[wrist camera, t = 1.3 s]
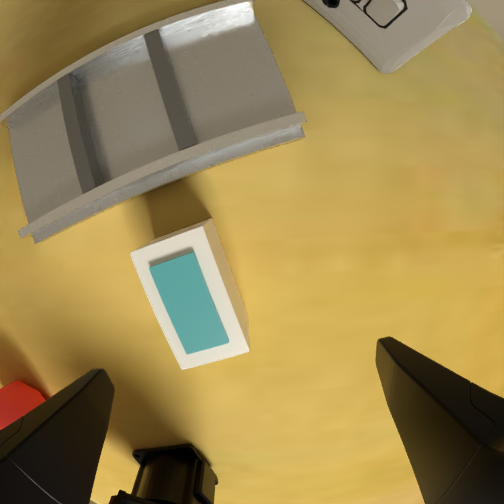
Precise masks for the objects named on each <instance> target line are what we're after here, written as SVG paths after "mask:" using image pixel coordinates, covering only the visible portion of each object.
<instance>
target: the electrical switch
mask: <svg viewBox="0 0 504 504" xmlns="http://www.w3.org/2000/svg"><path fill="white" fill-rule="evenodd" d="M303 1H305V2H306V3H307V4H308V5H310V6H311V7H312V8H313V9H315V10H316V11H317V12H318V13H319V14H321V15H322V16H323V17H324V18H325V19H326V20H328V21H329V22H330V23H331V24H332V25H333V26H334V27H336V28H337V29H338V30H339V31H340V32H341V33H342V34H343V35H344V36H345V37H346V38H347V39H349V40H350V41H351V42H352V43H353V44H354V45H355V46H356V47H357V48H358V49H359V50H360V51H361V52H362V53H363V54H364V55H365V56H366V57H367V58H368V59H369V61H370V62H371V63H372V64H373V65H374V66H375V67H376V68H377V69H378V70H379V71H380V72H382V73H386V74H390V73H392V72H393V71H395V70H397V69H398V68H400V67H401V66H402V65H403V64H404V63H406V62H407V61H408V60H410V59H411V58H412V57H414V56H415V55H417V54H418V53H419V52H421V51H422V50H423V49H425V48H426V47H427V46H429V45H430V44H432V43H433V42H434V41H436V40H437V39H438V38H440V37H441V36H443V35H444V34H446V33H447V32H448V31H450V30H451V29H453V28H454V27H456V26H458V25H460V24H461V23H463V22H465V21H466V20H467V19H468V18H469V17H470V15H471V11H472V9H471V7H470V6H469V4H468V3H467V2H466V0H303Z"/></svg>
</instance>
